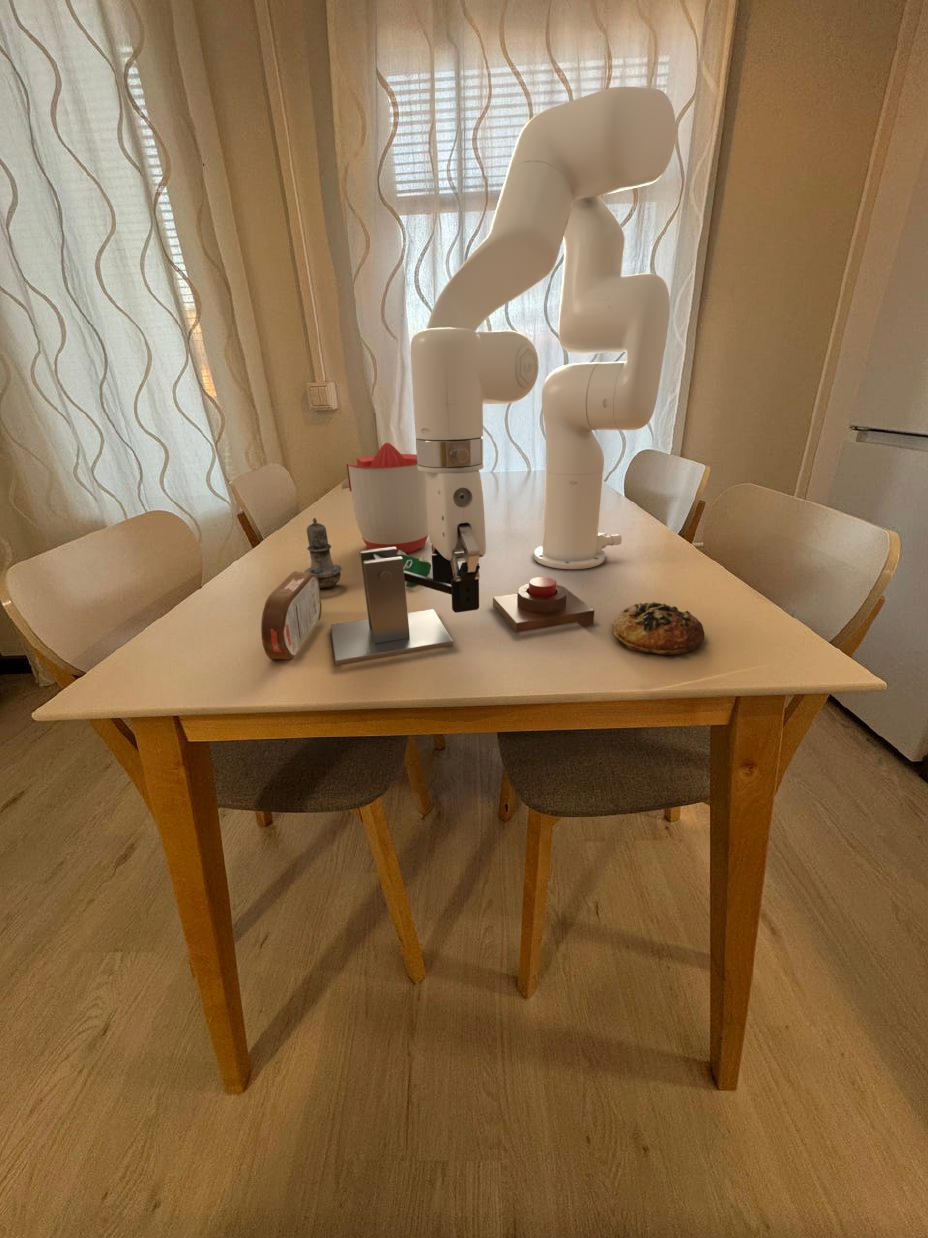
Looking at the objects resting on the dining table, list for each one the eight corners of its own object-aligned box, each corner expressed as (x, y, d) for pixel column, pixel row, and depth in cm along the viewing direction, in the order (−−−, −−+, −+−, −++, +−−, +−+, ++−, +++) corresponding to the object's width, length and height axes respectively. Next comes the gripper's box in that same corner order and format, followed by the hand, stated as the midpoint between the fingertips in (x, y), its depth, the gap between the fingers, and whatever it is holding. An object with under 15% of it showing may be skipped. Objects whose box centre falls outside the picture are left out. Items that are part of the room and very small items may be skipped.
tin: (307, 618, 72) (296, 562, 68) (328, 617, 71) (319, 561, 68) (266, 673, 58) (250, 607, 54) (293, 673, 58) (279, 607, 54)
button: (548, 587, 70) (549, 575, 69) (560, 596, 66) (561, 584, 66) (524, 590, 69) (524, 578, 68) (535, 600, 66) (535, 588, 65)
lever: (452, 594, 66) (459, 577, 66) (463, 608, 62) (470, 591, 61) (365, 568, 62) (371, 550, 61) (370, 581, 57) (377, 562, 57)
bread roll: (724, 650, 59) (726, 612, 57) (635, 672, 58) (633, 634, 56) (673, 615, 69) (673, 581, 67) (597, 633, 68) (594, 599, 66)
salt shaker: (335, 599, 77) (323, 523, 72) (300, 597, 78) (286, 522, 73) (350, 585, 82) (340, 513, 77) (318, 583, 84) (305, 512, 78)
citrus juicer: (363, 535, 109) (351, 438, 101) (441, 535, 107) (436, 436, 98) (337, 558, 96) (321, 448, 87) (426, 559, 93) (419, 446, 84)
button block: (562, 600, 74) (564, 574, 73) (593, 625, 67) (595, 597, 65) (492, 611, 72) (492, 585, 70) (516, 638, 64) (516, 610, 62)
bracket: (434, 618, 70) (428, 536, 65) (453, 651, 61) (448, 560, 56) (332, 634, 67) (318, 549, 61) (337, 672, 58) (321, 576, 53)
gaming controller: (422, 598, 81) (440, 566, 82) (408, 587, 78) (427, 555, 79) (386, 585, 87) (403, 556, 88) (372, 574, 84) (389, 544, 85)
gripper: (509, 462, 50) (506, 618, 57) (460, 445, 65) (463, 571, 72) (435, 467, 48) (442, 628, 55) (403, 449, 63) (412, 577, 70)
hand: (454, 595), depth 64 cm, fingers open, 9 cm apart
